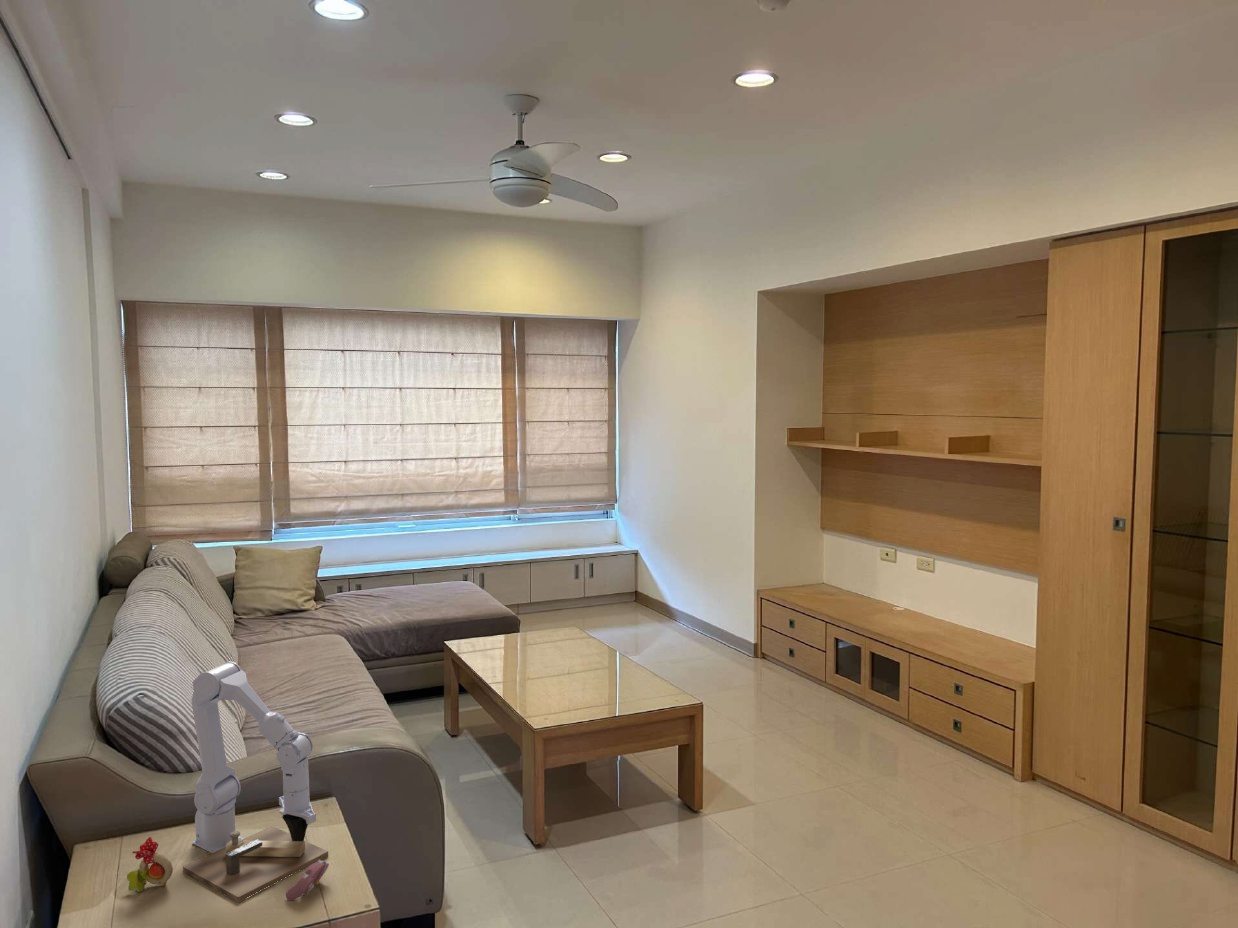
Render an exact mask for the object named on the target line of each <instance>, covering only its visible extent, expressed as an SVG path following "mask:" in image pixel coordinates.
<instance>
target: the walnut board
mask: <svg viewBox="0 0 1238 928" xmlns="http://www.w3.org/2000/svg"><path fill="white" fill-rule="evenodd" d="M257 839H258V840H260V841H292V838H291V835H290V832H289V833H288V832H287V831H285V830H282V829H280V828H278V827H276V826H274V825H271V826H268V827H267V828H265V829H262V830H260V831H258V832H256V833H253V834H252V835H250V836H247V837H245V838H243V839H242V840H253V841H254V840H257ZM304 841H305V851H304V853H303V854H302V855H301V856H300V857H271V856H240V857H239V863H240V872H239V873H237V874H235V875H233V876H231V875H229V874H227V872H226V847H225V848H223V849H220V850H218V851H216V852H214V853H210V854H208V855H205V856H203V857H201V858H198V859H196V860H195V861H192V862H190V863H188V864H185V865H183V866H182V872H183V873H185V874H187V875H189V876H190V877H192V878H193V879H195V880H197V881H199V882H200V883H203V884H204V885H205V886H208V887H210V888H212V889H213V890H215V891H217V892H219V893H220V892H221V893H220V894H222V895H224V894H225V895H224V896H226V895H227V896H226V897H227V898H229V897H230V899H232V900H233V899H234V900H233V901H235V902H237V903H241V902H242V901H245V900H246V898H247V897H249V896H251V895H252V896H254V895H256V894H257V893H256V892H258V893H260V892H261V891H260V890H262V889H264V888H266V887H268V886H270V887H271V885H272V886H274V885H275V884H274V883H276V882H277V881H280V880H281V879H283V880H285V879H286V878H285V877H287V878H289V877H290V876H289V875H291V874H293V875H295V874H296V873H295V872H297V873H299V872H300V871H299V870H301V871H303V870H305V869H307V868H306V867H308V866H310V865H311V864H314V863H316V862H317V861H318V860H319V859H320V861H323V859H326V858H329V851H328V850H326V849H324V848H322V847H319V846H317V845H315V844H313V843H311V842H308V841H306V840H304ZM304 868H305V869H304ZM302 869H303V870H302ZM298 871H299V872H298ZM294 873H295V874H294ZM288 876H289V877H288ZM291 876H292V875H291ZM284 878H285V879H284ZM281 881H282V880H281ZM281 881H280V882H281ZM273 884H274V885H273ZM276 884H277V883H276ZM268 888H269V887H268ZM266 889H267V888H266ZM264 890H265V889H264ZM259 891H260V892H259ZM262 891H263V890H262ZM255 893H256V894H255ZM253 894H254V895H253ZM252 896H251V897H252ZM249 898H250V897H249ZM247 899H248V898H247Z"/></svg>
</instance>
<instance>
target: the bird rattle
mask: <svg viewBox="0 0 1238 928" xmlns="http://www.w3.org/2000/svg"><path fill="white" fill-rule="evenodd" d="M158 847H159V843H158V842H157V841H153V837H152V836H149V837H148V838H147V839H146V840H145V842H144V843H143V844H140V845H139V850H134V851H132V854H135V856H134V858H135V859H136V860H140V859H141V860H140V863H139V869H134V870H132V871H130V872H128V873H127V875H126V879H127V881H128V882H129V883H128V891H130V892H131V891H133V890H135V889H136V891H138V892H139V893H141V892H143V891H144V889H145V888H144V887H145V886H144V884H146V883H147V882H148V883H149V884H152V885H156V886H157V885H158V886H160V887H165V886H166V885H167V882H168V881H169V880H170V879H171V877H172V875H173V871H174V870H173V869H174V868H173V864H172V862H171V861H170V860H169V858H168V857H166V856H165V855H163V854H160V853H157V850H158Z"/></svg>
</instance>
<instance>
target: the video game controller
mask: <svg viewBox="0 0 1238 928" xmlns="http://www.w3.org/2000/svg"><path fill="white" fill-rule="evenodd" d="M329 865H330V863H328V862H326V861H324V860H320V859H319V860H318V861H317V862H316V863H314V864H311V865H310V866H308V867H307V868H305V871H304V873H303V874H302V875H301V877H300V878H299V879H298V881H297V882H296V883H295V884H294V885H292V886H291V887H290V888H288V890H286V892H285V898H286V899H287V900H288V901H295V900H298V898H300V897H301V896H303V895H305V896H308V895H309V893H310V892H311V890H312V889H313V888H315V887H316V886H317V885H319V884H320V880H321V878H322V877H323V876H324V875H325V873H326V872H327V870H328V869H329Z"/></svg>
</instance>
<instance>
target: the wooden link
mask: <svg viewBox="0 0 1238 928" xmlns="http://www.w3.org/2000/svg"><path fill="white" fill-rule="evenodd" d="M238 836H239V837H241V831H239V830H236V831H234V832H232V833H230V837H231V838H232V841H230V842H228V843H227V844H226V853H229V852H231V851H233V850H235V849H237V848H239V847H241V846H244V845H246V844H248V843H250V842H252V841H253V840H242V839H238ZM305 841H306V840H304V841H262V846H261V847H259V848H257V849H255V850H253V851H250V852H248V853H246V854H244V855H242V856H271V857H300V856H301V855H302V854H303V853H304V851H305Z"/></svg>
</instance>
